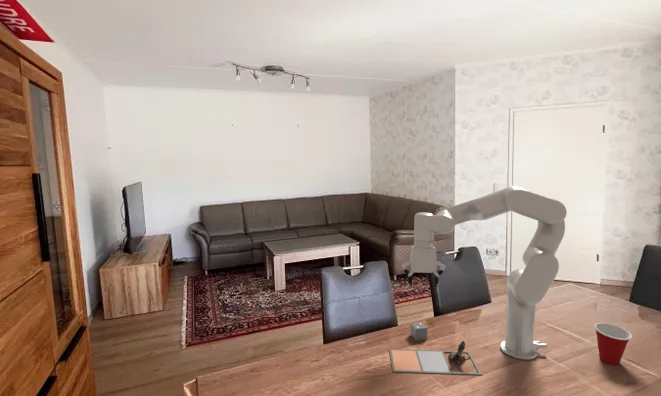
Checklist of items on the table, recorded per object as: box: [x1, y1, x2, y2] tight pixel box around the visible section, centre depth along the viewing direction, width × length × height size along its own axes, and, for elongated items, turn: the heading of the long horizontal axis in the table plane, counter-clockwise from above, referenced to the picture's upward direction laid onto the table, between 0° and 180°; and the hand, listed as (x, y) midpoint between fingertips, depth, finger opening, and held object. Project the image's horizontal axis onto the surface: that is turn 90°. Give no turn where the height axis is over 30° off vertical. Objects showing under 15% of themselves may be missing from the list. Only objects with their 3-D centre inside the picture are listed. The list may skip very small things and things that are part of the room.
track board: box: [388, 348, 483, 376], centre depth 133 cm, size 30×15×1 cm, turn 86°
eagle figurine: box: [448, 340, 471, 368], centre depth 133 cm, size 8×7×9 cm
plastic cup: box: [594, 322, 633, 366], centre depth 132 cm, size 11×11×12 cm
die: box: [410, 321, 428, 341], centre depth 151 cm, size 5×5×5 cm
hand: (422, 285), depth 147 cm, fingers open, 9 cm apart
